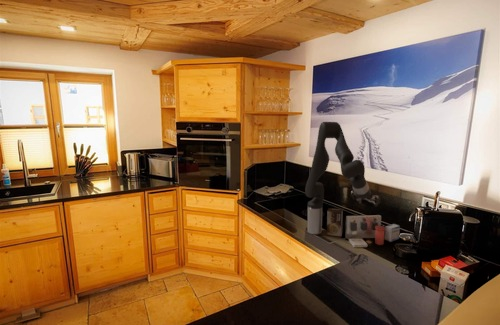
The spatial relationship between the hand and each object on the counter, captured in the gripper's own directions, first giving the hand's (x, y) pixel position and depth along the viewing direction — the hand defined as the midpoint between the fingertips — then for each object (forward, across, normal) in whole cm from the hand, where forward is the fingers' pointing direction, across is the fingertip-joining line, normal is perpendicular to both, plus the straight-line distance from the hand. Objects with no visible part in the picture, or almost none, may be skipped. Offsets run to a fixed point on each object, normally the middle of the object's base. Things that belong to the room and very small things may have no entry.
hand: (368, 204), depth 146 cm
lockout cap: (+28, -3, +10) cm, 30 cm away
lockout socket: (+21, +6, +17) cm, 27 cm away
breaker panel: (+28, +7, +10) cm, 30 cm away
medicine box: (+35, -7, +3) cm, 36 cm away
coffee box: (+24, +23, +14) cm, 36 cm away
